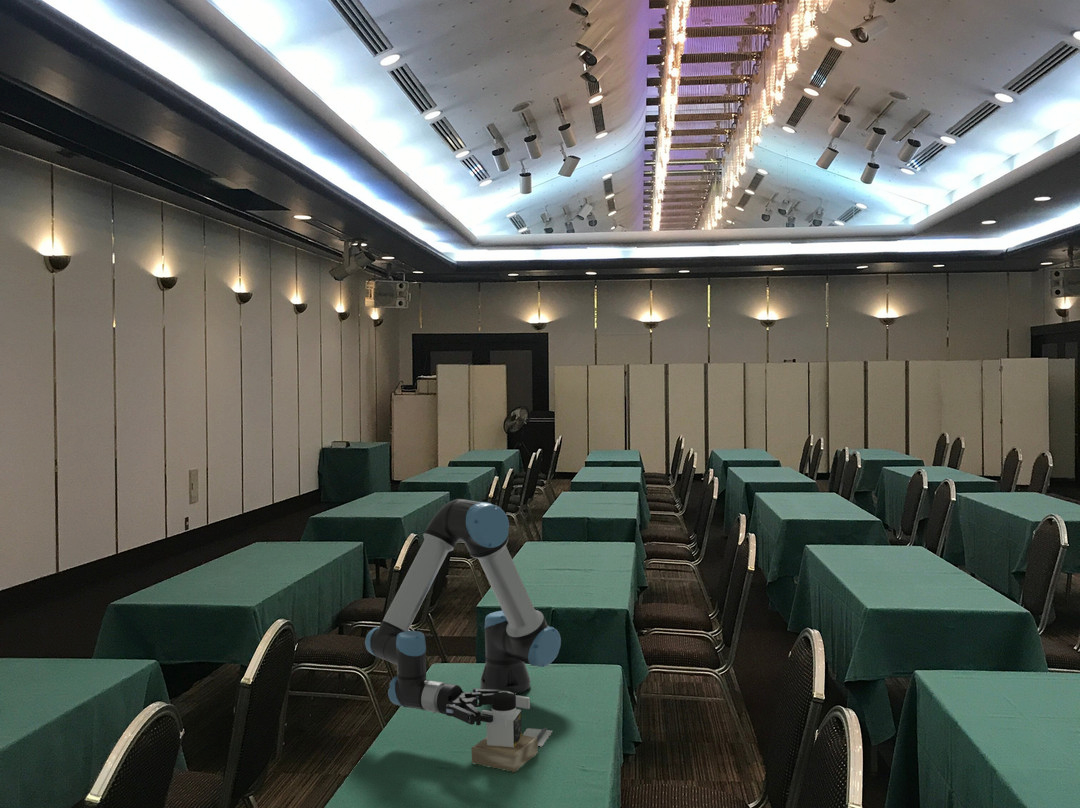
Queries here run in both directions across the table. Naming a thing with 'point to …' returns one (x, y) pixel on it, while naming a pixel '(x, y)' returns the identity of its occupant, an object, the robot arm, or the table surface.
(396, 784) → the table surface
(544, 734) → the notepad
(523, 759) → the beech tray
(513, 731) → the medicine bottle
